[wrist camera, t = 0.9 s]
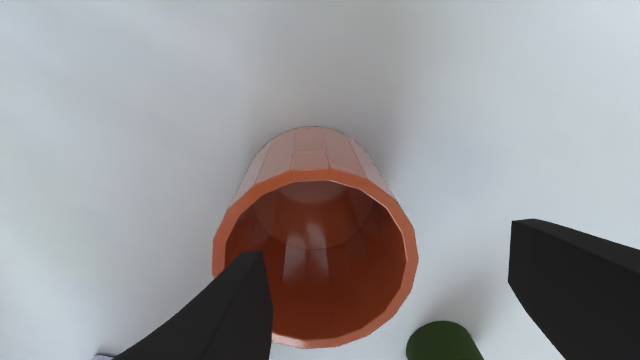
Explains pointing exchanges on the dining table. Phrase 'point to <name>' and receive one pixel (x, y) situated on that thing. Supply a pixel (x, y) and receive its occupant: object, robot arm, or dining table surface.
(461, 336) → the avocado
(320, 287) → the cup
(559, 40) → the dining table surface
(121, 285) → the dining table surface
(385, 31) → the dining table surface
